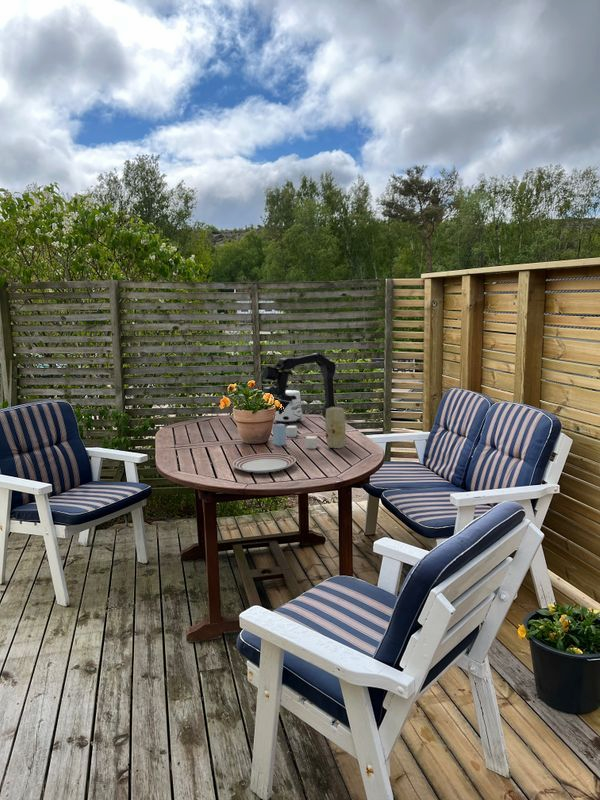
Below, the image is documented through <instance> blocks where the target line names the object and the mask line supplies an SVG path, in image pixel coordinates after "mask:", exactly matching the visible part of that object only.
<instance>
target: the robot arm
mask: <svg viewBox="0 0 600 800" xmlns="http://www.w3.org/2000/svg"><path fill="white" fill-rule="evenodd" d="M309 363H315V364H317V366H319V369H320V373H321V375H322V377H323V386H324V387H323V389H324V402H325V405H324V406H323V407H321V416H322V417H323V419H326V409H328V408H330V407H337V405H335V391H334V390H335V389H334V376H335V373H336V363H335V362H334V361H332V360H329V358H327V357H325V356H323V355H322V354H321V353H319V352H314V353H310V354H306V355H302V356H297V357H281V358H279V360H278V362H277V363H276V364H275V365H274V366H273V367H272V366H269V365H265V368H264V370H263V371H262V379H263V380H267V381H273V382H274V383H273V385H271V386H267V387H263V393H264V395H266V394H265V393H270V394H272V395H273V397H274V399H275V400H278V401H279V402H280V404H282V406H283V407H284V409H285V408H286V407H287V406H288V404H289V403H290V402H289V401H291V402H292V399H293V398H292V396H290V395H287V394H286V390H287V389H288V388H289V385H288V382H289V377H290V376H293V375H294V373H293V372H292V369H294V368H296V367H297V366H301V365H305V364H309ZM276 397H277V398H276ZM278 398H279V399H280V400H279V399H278ZM283 407H282V410H281V408H280V407H279V408H280V409H279V414H281V413H282V412H283V411H284V409H283Z"/></svg>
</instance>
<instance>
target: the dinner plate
mask: <svg viewBox="0 0 600 800" xmlns="http://www.w3.org/2000/svg"><path fill="white" fill-rule="evenodd" d="M296 461H297V459H296V457H295V456H293V455H290V454H286V453H279V452H264V453H256V454H250V455H246V456H241V457H239V458H237V459H235V460H234V461H233V462H232V467H234V468H235V469H238V470H240V471H243V472H248V473H251V472H253V473H252V474H270V473H269V472H273V473H277V472H276V471H278V472H280V470H281V471H283V470H286V469H287V468H290V467H291V466H293V465H294V464H295V463H296Z"/></svg>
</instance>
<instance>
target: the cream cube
mask: <svg viewBox="0 0 600 800" xmlns="http://www.w3.org/2000/svg"><path fill="white" fill-rule="evenodd" d="M317 447H318V436H317V435H316V436H315V435H313V436H312V435H311V436H310V435H307V436H306V437H305V449H316V448H317Z"/></svg>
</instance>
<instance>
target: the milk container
mask: <svg viewBox="0 0 600 800" xmlns="http://www.w3.org/2000/svg"><path fill="white" fill-rule="evenodd" d="M286 394H287V395H290V396H292V398H293V399H292V402H291V401H289V402H290V403H289V404H288V406H287V407H286V408H285V409H284V412H282V413H281V414H279V411H278V410H277V411H276V416H275V419H274V421H275V422H278V423H281V424H283V423H284V424H289V423H297V422H300V421H301V420H302V418H303V410H302V405H301V391H299V390H292V389H286ZM276 398H277V397H276ZM278 399H279V398H278ZM279 400H280V399H279Z"/></svg>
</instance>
